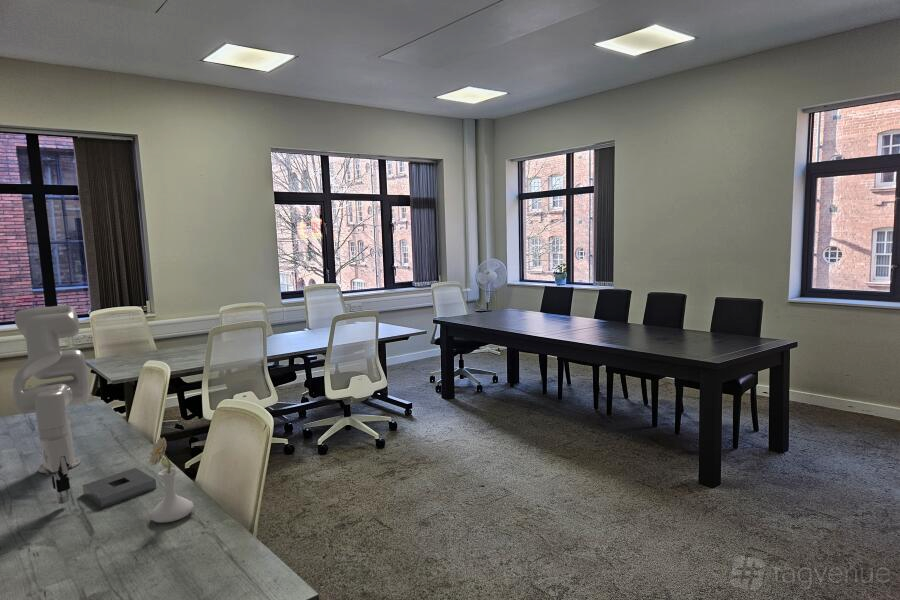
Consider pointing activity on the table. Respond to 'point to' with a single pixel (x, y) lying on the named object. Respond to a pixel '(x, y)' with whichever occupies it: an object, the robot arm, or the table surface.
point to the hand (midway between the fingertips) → (61, 488)
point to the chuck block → (119, 487)
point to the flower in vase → (168, 489)
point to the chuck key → (64, 495)
